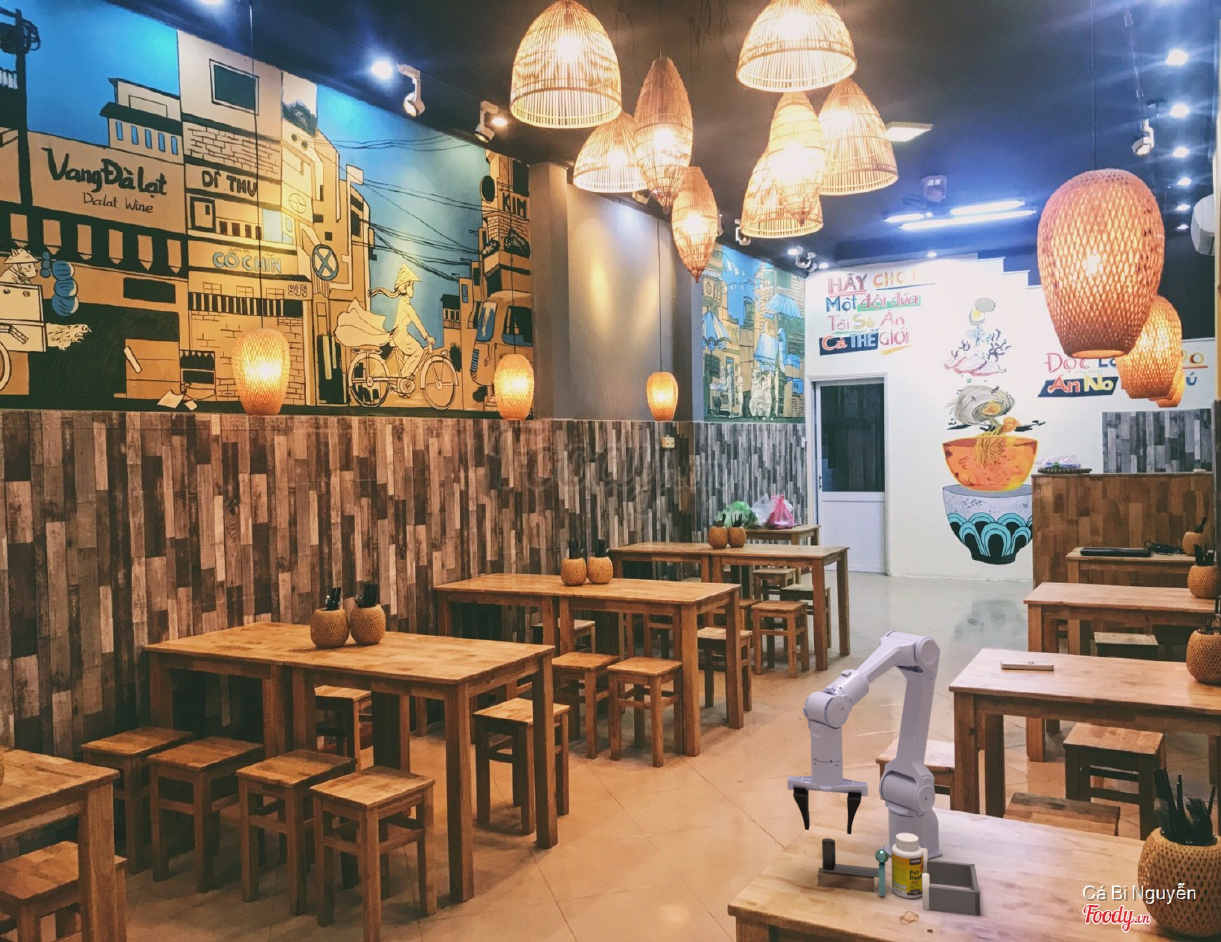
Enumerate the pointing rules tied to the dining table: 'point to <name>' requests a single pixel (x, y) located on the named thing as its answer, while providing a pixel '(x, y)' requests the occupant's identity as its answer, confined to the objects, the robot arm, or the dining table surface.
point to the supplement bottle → (907, 866)
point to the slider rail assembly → (831, 866)
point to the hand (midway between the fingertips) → (828, 830)
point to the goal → (947, 896)
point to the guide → (845, 881)
